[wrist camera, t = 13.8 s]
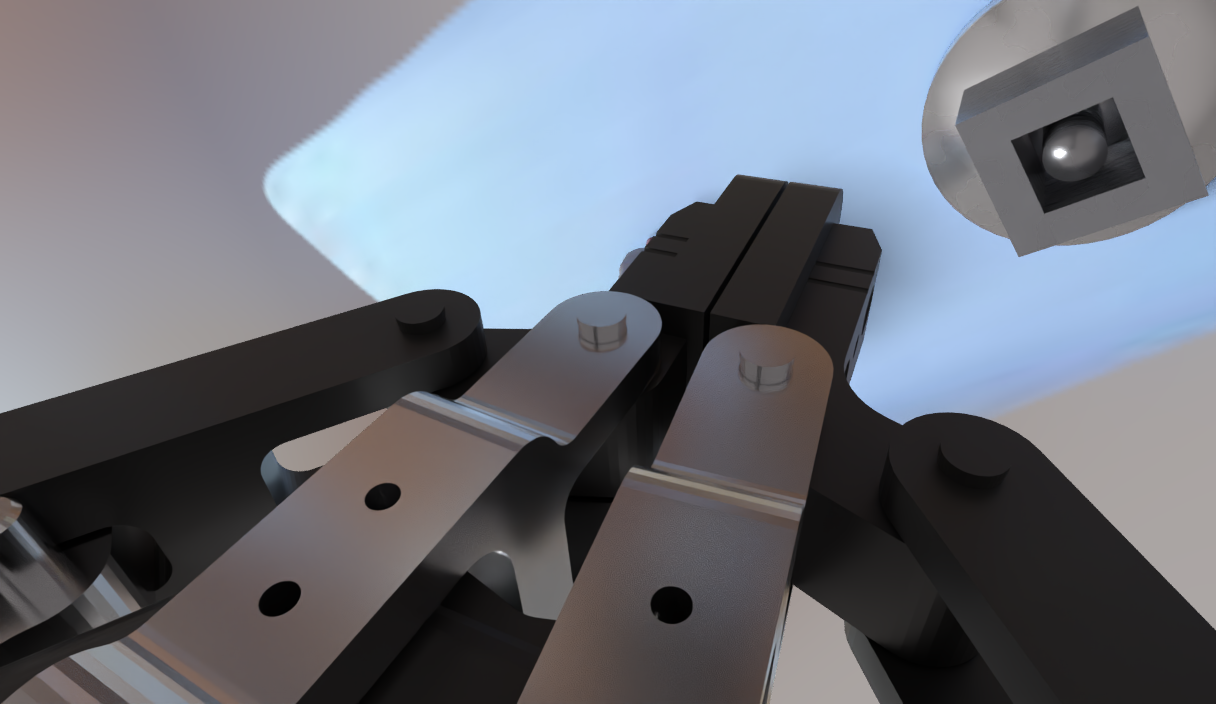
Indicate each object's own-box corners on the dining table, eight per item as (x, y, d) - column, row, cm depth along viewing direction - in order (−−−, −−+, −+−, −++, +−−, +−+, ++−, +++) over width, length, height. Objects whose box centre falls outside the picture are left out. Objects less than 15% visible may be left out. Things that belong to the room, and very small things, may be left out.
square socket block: (964, 90, 30) (954, 125, 27) (1138, 5, 26) (1148, 36, 23) (1021, 212, 32) (1018, 257, 29) (1192, 150, 28) (1208, 195, 25)
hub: (959, -48, 28) (946, -19, 25) (1313, -38, 24) (1357, -3, 21) (903, 209, 35) (887, 259, 32) (1173, 249, 31) (1189, 311, 28)
